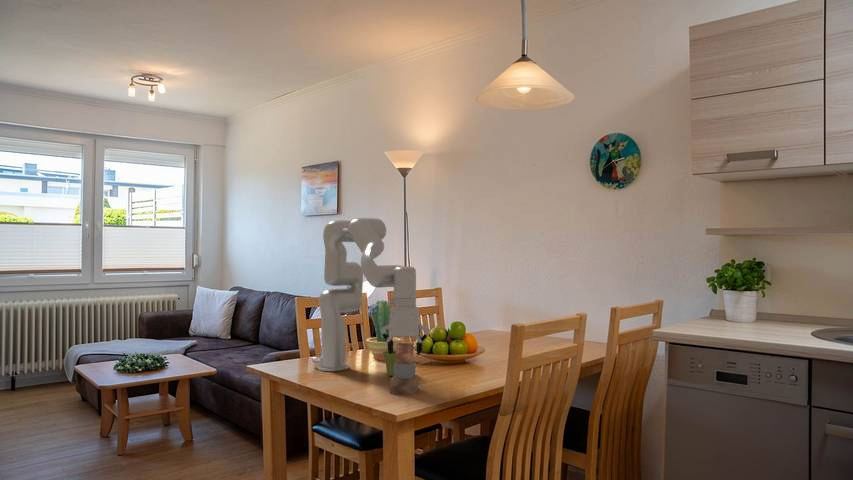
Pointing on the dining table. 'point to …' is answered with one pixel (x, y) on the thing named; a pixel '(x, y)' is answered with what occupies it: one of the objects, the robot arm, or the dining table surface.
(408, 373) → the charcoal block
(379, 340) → the potted cactus
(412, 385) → the walnut base block
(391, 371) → the plant pot
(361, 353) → the dining table surface
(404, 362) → the brownish pink block
